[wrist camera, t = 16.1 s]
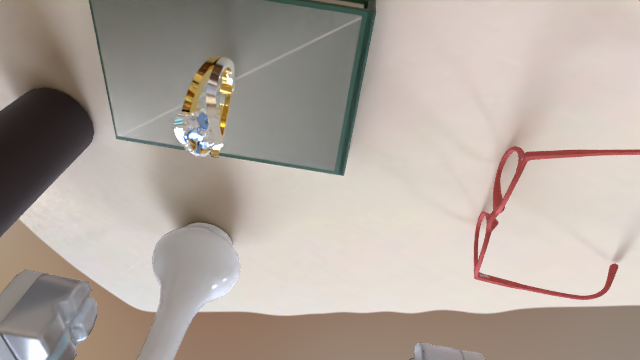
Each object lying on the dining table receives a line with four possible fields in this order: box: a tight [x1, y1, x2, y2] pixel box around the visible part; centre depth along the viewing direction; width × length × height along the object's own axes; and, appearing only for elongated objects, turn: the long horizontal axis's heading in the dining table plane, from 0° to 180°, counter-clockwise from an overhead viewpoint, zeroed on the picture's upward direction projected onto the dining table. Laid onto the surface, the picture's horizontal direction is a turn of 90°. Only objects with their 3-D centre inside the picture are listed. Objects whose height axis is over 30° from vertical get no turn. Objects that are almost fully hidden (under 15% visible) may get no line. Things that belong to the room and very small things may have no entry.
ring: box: [174, 56, 235, 158], centre depth 31 cm, size 7×3×8 cm, turn 166°
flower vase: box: [136, 222, 241, 360], centre depth 40 cm, size 13×18×25 cm
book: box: [89, 0, 376, 176], centre depth 35 cm, size 20×14×3 cm
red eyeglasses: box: [474, 146, 640, 300], centre depth 39 cm, size 17×16×5 cm
